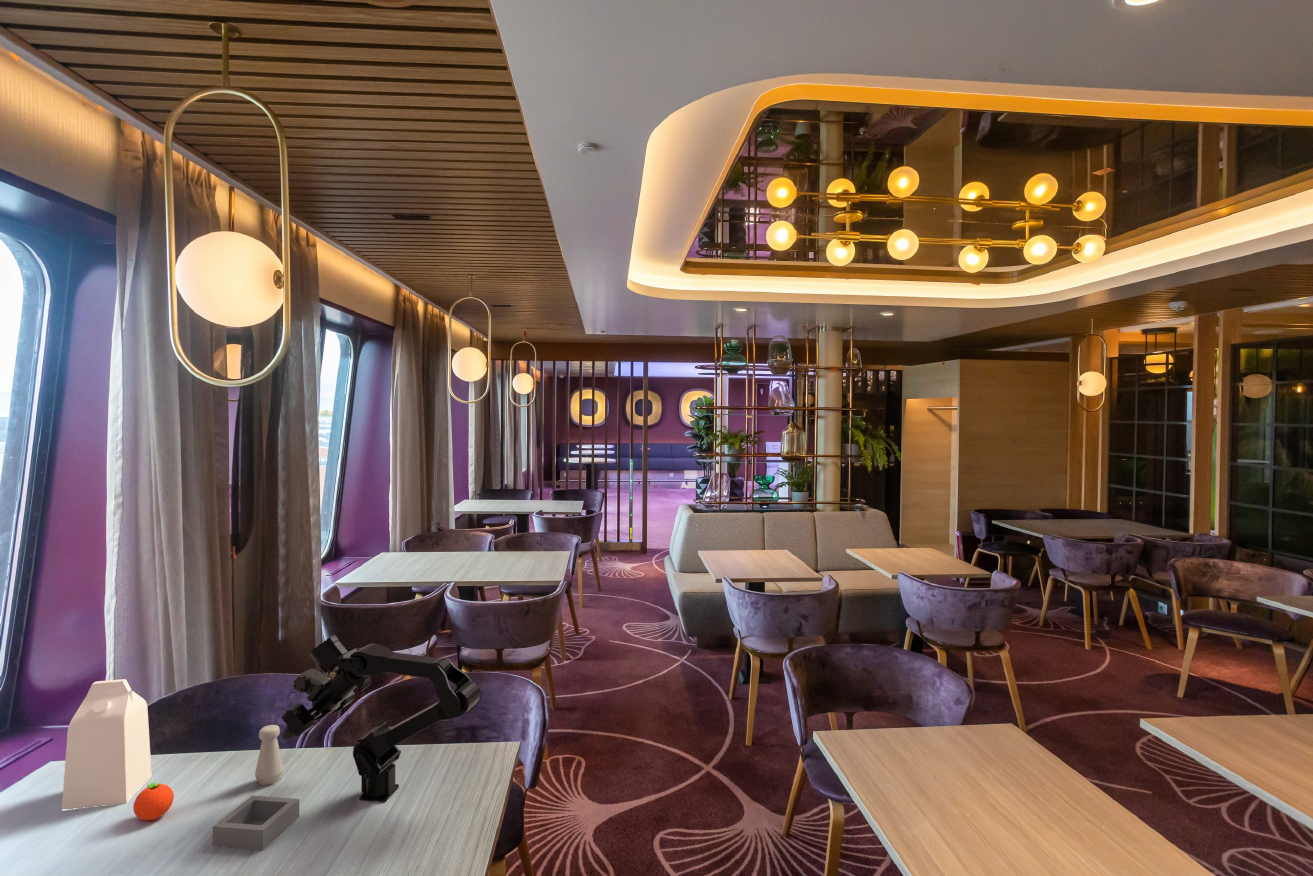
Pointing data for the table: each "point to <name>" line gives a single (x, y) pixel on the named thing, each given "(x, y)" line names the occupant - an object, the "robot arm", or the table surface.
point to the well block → (257, 837)
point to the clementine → (153, 801)
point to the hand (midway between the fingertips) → (298, 728)
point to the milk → (107, 747)
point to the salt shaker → (269, 756)
